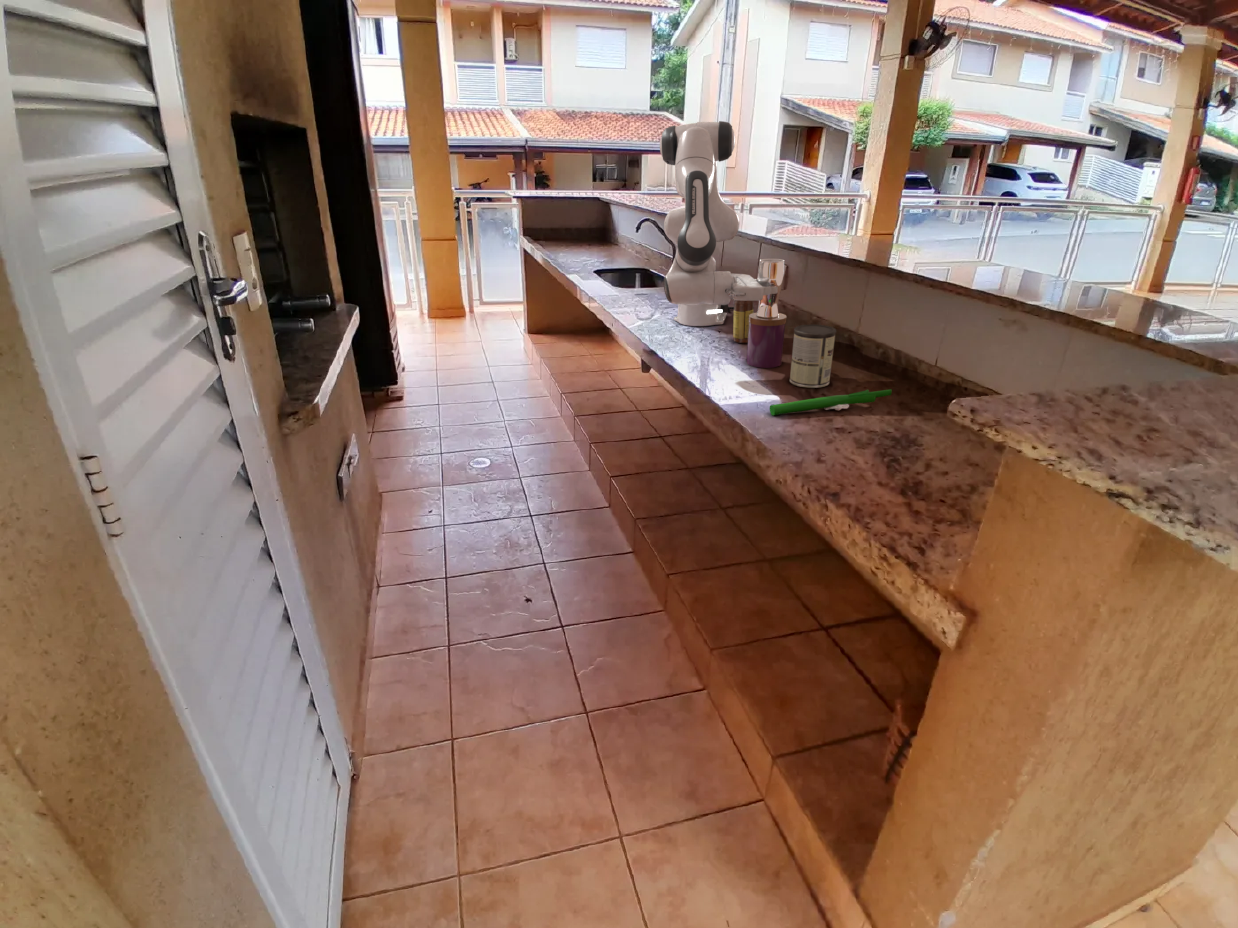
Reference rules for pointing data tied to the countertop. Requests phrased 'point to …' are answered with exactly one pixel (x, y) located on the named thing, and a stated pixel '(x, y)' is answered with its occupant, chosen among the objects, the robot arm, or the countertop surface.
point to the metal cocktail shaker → (770, 276)
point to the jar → (765, 341)
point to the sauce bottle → (741, 320)
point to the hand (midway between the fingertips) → (773, 286)
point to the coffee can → (812, 355)
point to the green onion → (828, 402)
